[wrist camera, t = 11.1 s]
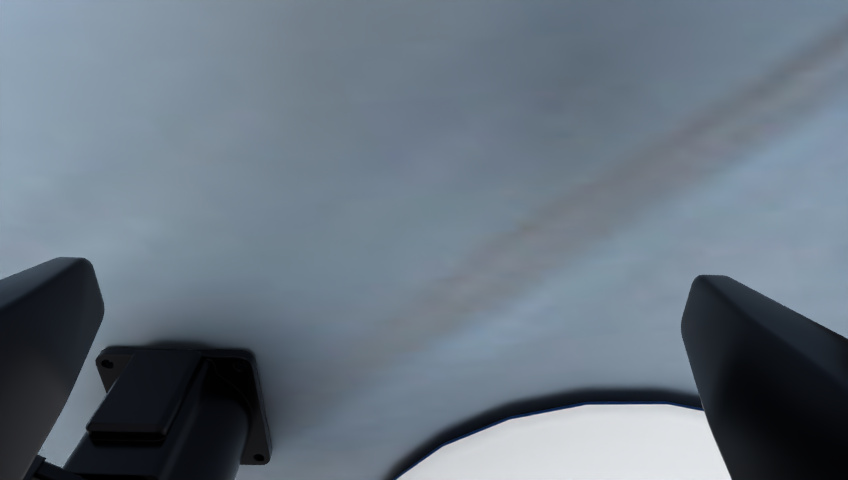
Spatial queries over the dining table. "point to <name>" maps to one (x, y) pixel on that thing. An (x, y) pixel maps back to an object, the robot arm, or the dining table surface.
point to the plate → (583, 446)
